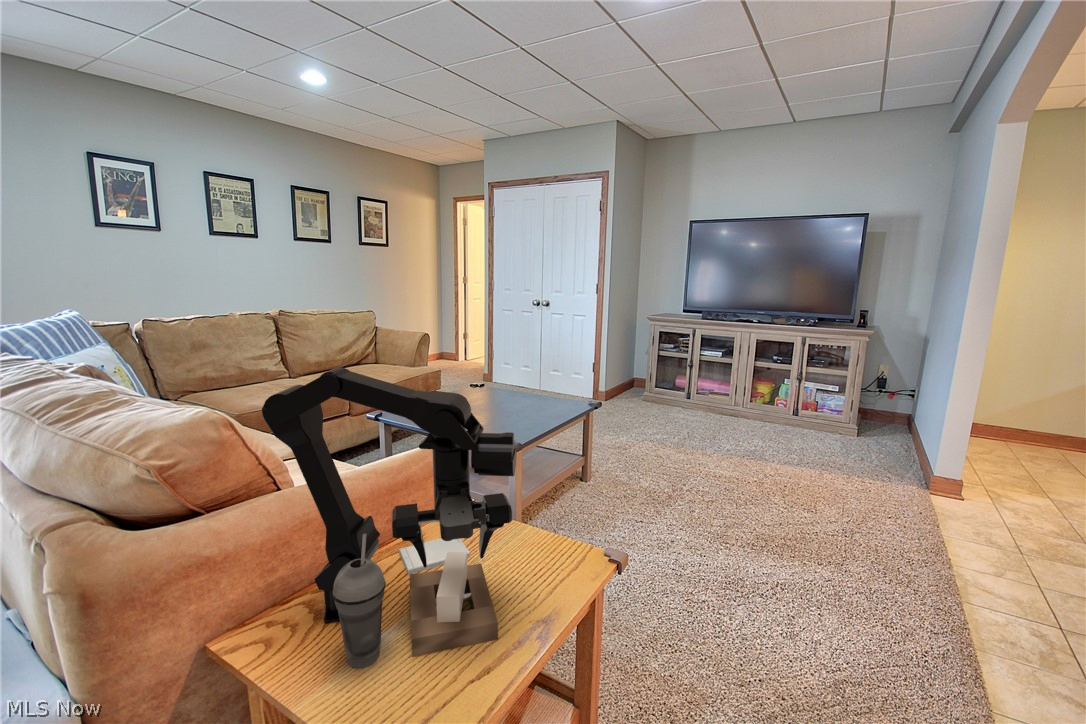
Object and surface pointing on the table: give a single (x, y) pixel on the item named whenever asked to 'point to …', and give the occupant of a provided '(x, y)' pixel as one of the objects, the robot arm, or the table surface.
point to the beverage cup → (360, 609)
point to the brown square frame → (450, 635)
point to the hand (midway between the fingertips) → (453, 561)
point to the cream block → (452, 587)
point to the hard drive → (430, 554)
